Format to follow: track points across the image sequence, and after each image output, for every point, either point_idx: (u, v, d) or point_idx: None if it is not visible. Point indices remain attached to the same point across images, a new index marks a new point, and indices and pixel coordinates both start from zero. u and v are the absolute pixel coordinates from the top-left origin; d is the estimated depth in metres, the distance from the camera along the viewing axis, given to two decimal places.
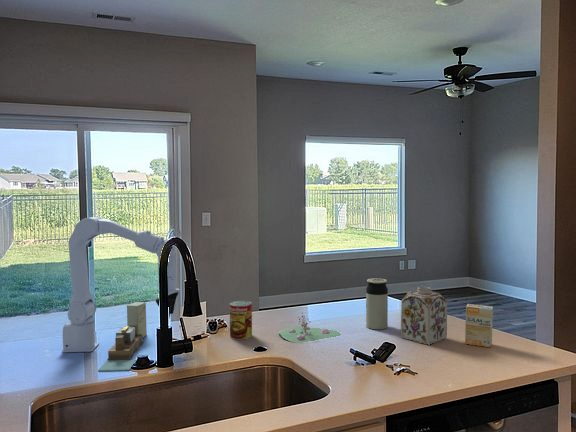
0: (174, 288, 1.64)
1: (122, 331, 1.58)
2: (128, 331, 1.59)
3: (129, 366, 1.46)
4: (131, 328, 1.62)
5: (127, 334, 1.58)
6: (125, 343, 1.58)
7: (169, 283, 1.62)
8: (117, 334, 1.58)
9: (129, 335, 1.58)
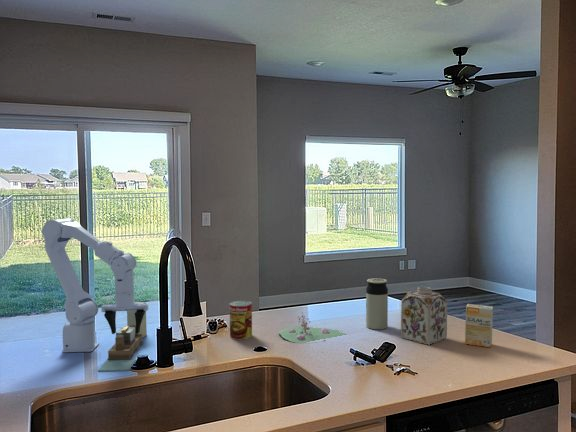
0: (119, 305, 1.57)
1: (122, 331, 1.58)
2: (128, 331, 1.59)
3: (129, 366, 1.46)
4: (131, 328, 1.62)
5: (127, 334, 1.58)
6: (125, 343, 1.58)
7: None
8: (117, 334, 1.58)
9: (129, 335, 1.58)
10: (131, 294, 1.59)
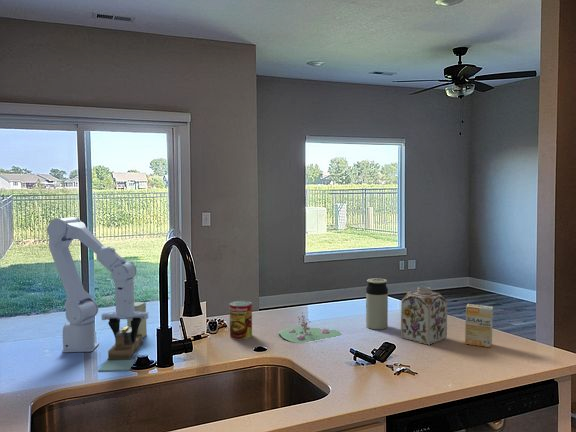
0: (119, 313, 1.58)
1: (122, 331, 1.58)
2: (128, 331, 1.59)
3: (129, 366, 1.46)
4: (131, 328, 1.62)
5: (127, 334, 1.58)
6: (125, 343, 1.58)
7: None
8: (117, 334, 1.58)
9: (129, 335, 1.58)
10: (131, 302, 1.59)
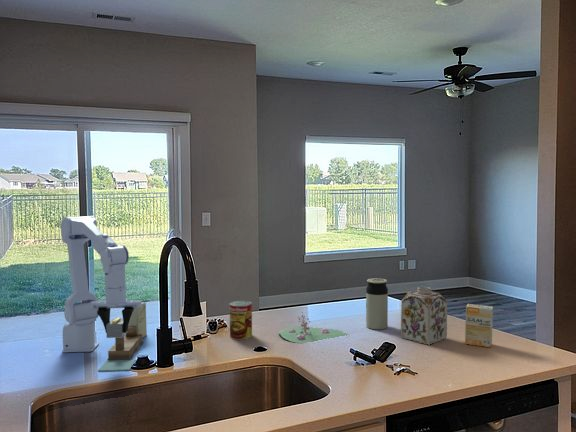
0: (109, 301, 1.44)
1: (113, 322, 1.45)
2: (120, 322, 1.46)
3: (129, 366, 1.46)
4: None
5: (118, 325, 1.45)
6: (116, 335, 1.45)
7: (105, 294, 1.45)
8: (107, 325, 1.44)
9: (121, 327, 1.45)
10: (122, 290, 1.45)
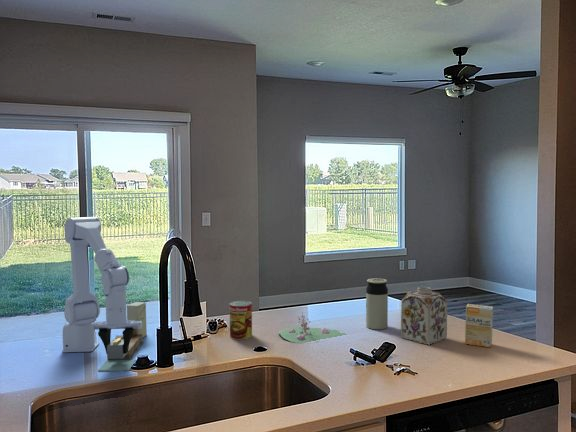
0: (110, 323, 1.44)
1: (114, 343, 1.45)
2: (120, 343, 1.46)
3: (129, 366, 1.46)
4: None
5: (119, 347, 1.45)
6: (117, 356, 1.45)
7: (106, 315, 1.45)
8: (108, 347, 1.45)
9: (121, 348, 1.45)
10: (123, 311, 1.46)
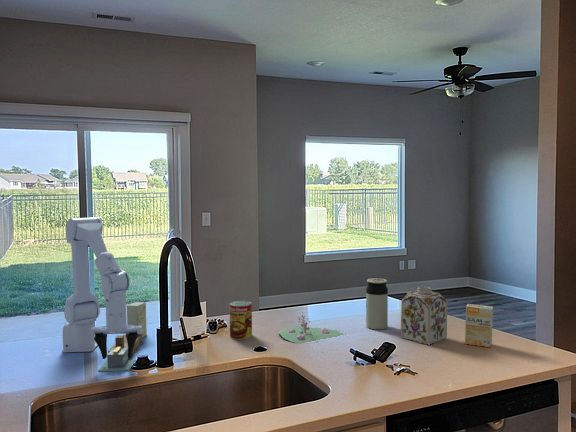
0: (110, 328, 1.44)
1: (114, 353, 1.45)
2: (120, 352, 1.46)
3: (129, 366, 1.46)
4: (124, 349, 1.50)
5: (119, 356, 1.45)
6: (117, 366, 1.45)
7: (106, 320, 1.45)
8: (108, 356, 1.45)
9: (121, 357, 1.45)
10: (123, 316, 1.46)
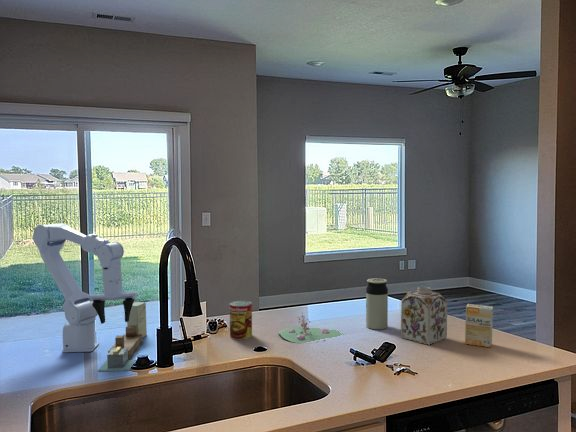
0: (107, 294, 1.56)
1: (114, 353, 1.45)
2: (120, 352, 1.46)
3: (129, 366, 1.46)
4: (124, 349, 1.50)
5: (119, 356, 1.45)
6: (117, 366, 1.45)
7: (103, 287, 1.57)
8: (108, 356, 1.45)
9: (121, 357, 1.45)
10: (119, 282, 1.57)
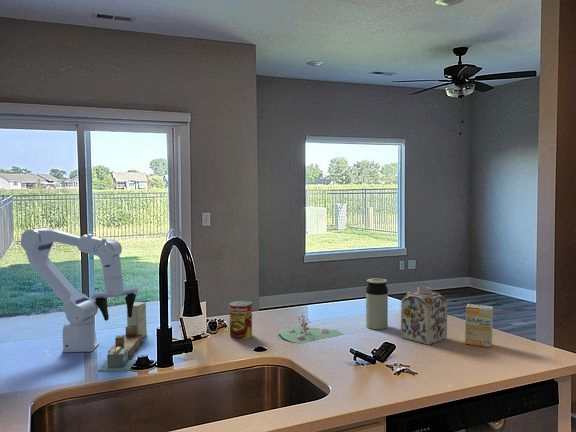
0: (108, 291, 1.59)
1: (114, 353, 1.45)
2: (120, 352, 1.46)
3: (129, 366, 1.46)
4: (124, 349, 1.50)
5: (119, 356, 1.45)
6: (117, 366, 1.45)
7: None
8: (108, 356, 1.45)
9: (121, 357, 1.45)
10: (120, 279, 1.60)
